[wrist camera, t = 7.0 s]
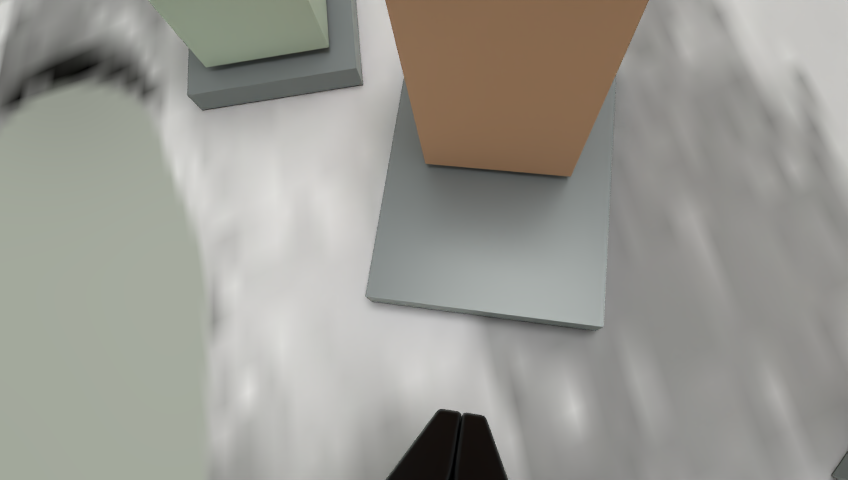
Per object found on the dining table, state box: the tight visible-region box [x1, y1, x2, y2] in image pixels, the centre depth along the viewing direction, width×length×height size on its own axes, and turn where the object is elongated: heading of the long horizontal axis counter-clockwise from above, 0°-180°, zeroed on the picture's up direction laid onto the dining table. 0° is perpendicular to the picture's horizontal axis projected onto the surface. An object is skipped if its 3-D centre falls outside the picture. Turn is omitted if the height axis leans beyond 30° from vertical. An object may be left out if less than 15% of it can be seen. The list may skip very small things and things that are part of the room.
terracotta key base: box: [365, 76, 616, 331], centre depth 16 cm, size 9×7×1 cm
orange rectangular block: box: [385, 0, 649, 177], centre depth 12 cm, size 4×5×9 cm
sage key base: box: [187, 0, 363, 110], centre depth 19 cm, size 6×6×1 cm
